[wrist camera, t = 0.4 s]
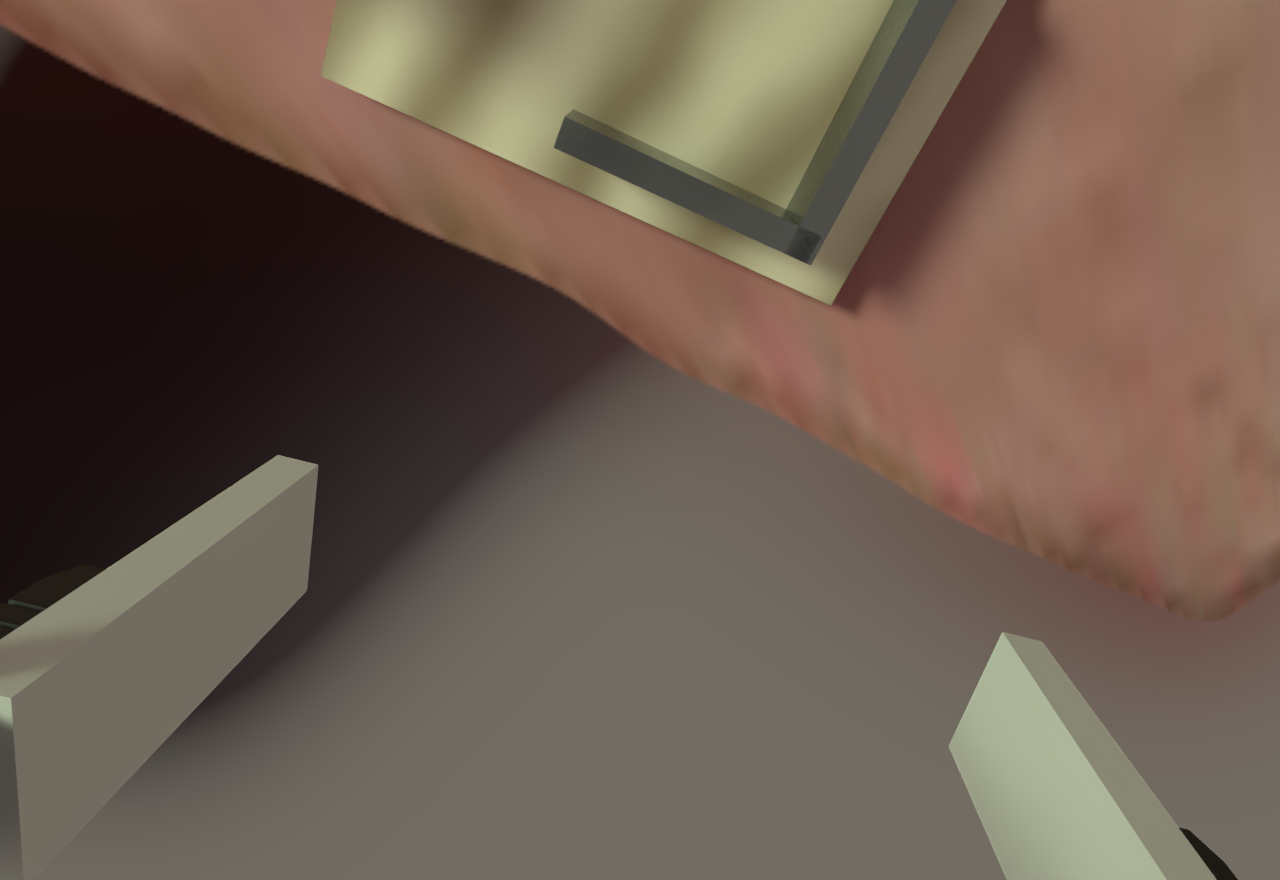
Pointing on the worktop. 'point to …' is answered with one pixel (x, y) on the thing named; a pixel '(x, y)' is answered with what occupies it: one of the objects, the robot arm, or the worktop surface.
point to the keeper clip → (830, 170)
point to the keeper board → (661, 96)
